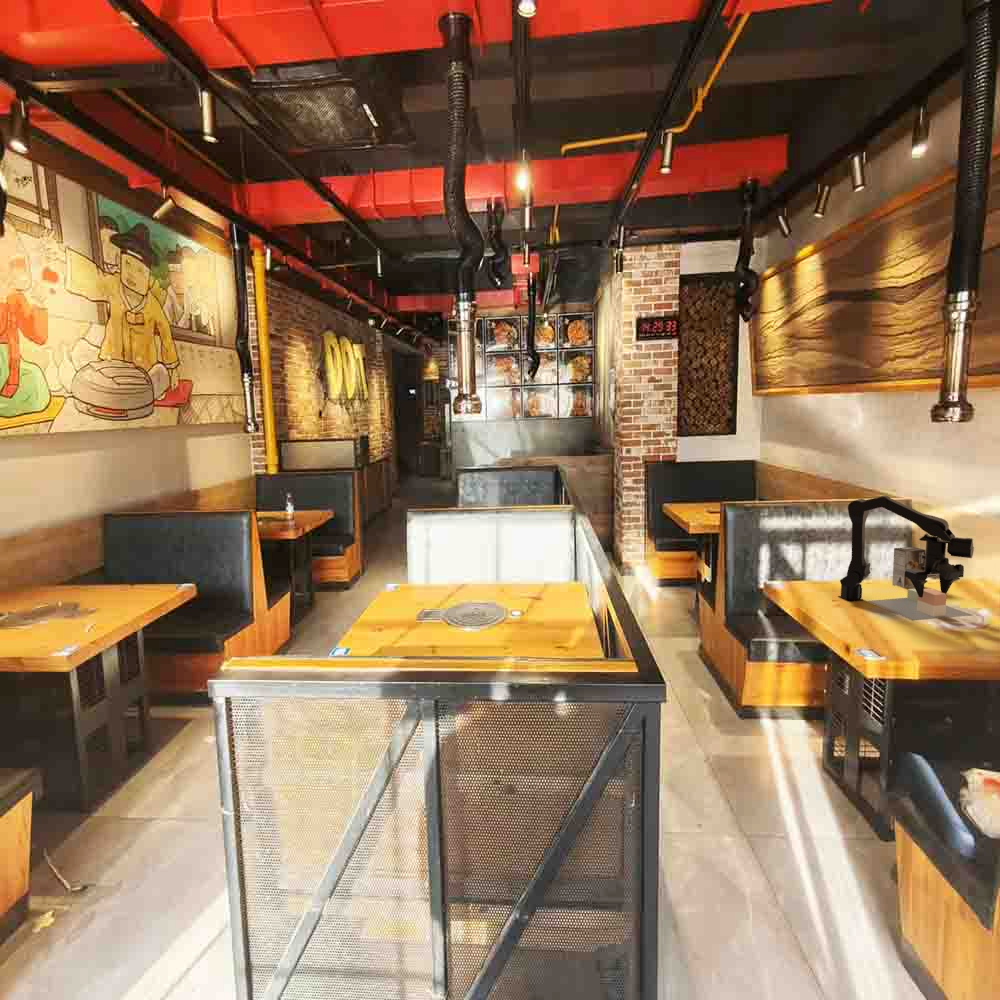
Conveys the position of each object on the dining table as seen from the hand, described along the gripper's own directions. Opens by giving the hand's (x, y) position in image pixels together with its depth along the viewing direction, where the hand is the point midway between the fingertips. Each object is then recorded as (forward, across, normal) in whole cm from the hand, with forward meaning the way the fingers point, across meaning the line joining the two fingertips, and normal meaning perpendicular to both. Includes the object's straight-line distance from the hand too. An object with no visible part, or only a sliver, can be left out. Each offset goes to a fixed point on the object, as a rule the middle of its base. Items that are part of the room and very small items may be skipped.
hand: (932, 596), depth 209 cm
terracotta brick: (+2, 0, 0) cm, 2 cm away
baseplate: (+7, 0, +6) cm, 9 cm away
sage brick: (+6, +7, +12) cm, 15 cm away
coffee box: (+7, +19, +31) cm, 37 cm away
